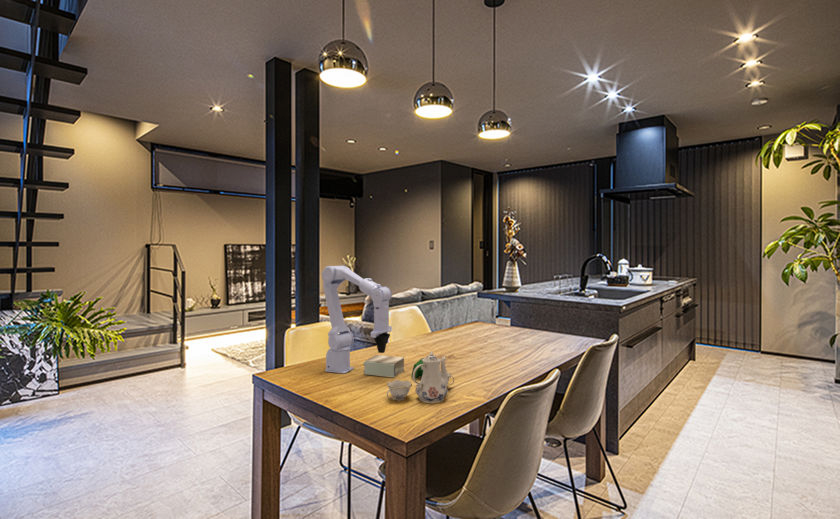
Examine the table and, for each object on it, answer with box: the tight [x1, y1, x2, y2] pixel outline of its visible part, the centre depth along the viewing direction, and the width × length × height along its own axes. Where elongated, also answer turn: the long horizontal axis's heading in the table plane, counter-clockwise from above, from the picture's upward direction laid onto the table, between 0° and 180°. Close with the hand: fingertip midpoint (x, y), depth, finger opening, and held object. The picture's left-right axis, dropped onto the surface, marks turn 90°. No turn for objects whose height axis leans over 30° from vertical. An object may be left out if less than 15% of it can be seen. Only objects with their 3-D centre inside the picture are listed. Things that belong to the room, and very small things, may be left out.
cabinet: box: [365, 354, 405, 378], centre depth 170 cm, size 13×10×6 cm
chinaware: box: [386, 351, 455, 404], centre depth 142 cm, size 28×17×17 cm, turn 132°
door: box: [363, 360, 396, 378], centre depth 165 cm, size 14×1×5 cm, turn 71°
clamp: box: [411, 357, 425, 380], centre depth 165 cm, size 12×6×9 cm, turn 156°
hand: (381, 352), depth 162 cm, fingers closed
